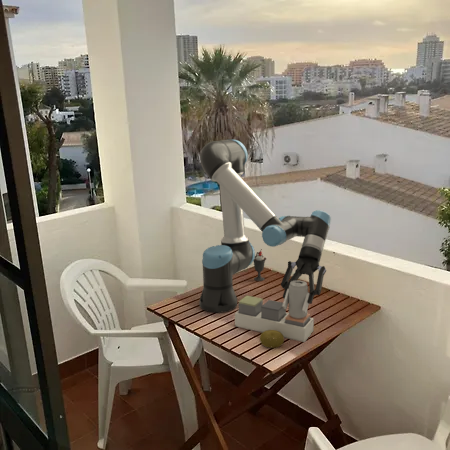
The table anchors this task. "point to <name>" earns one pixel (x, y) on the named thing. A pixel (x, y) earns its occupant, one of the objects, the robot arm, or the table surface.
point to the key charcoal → (273, 311)
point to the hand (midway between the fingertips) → (294, 309)
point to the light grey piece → (274, 326)
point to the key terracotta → (297, 320)
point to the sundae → (259, 265)
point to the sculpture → (268, 337)
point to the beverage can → (297, 298)
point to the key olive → (250, 305)
